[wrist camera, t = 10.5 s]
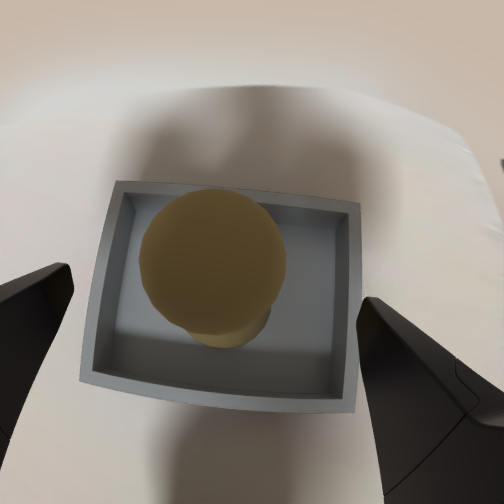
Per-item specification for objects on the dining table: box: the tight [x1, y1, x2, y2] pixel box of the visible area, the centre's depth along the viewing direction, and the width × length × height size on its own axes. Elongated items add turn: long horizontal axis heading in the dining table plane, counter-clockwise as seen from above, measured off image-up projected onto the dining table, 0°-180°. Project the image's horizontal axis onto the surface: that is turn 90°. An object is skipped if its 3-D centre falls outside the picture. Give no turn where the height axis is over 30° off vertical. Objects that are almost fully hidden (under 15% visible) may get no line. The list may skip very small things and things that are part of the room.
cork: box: [139, 188, 287, 349], centre depth 15 cm, size 6×6×11 cm
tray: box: [79, 181, 362, 413], centre depth 19 cm, size 16×13×4 cm
